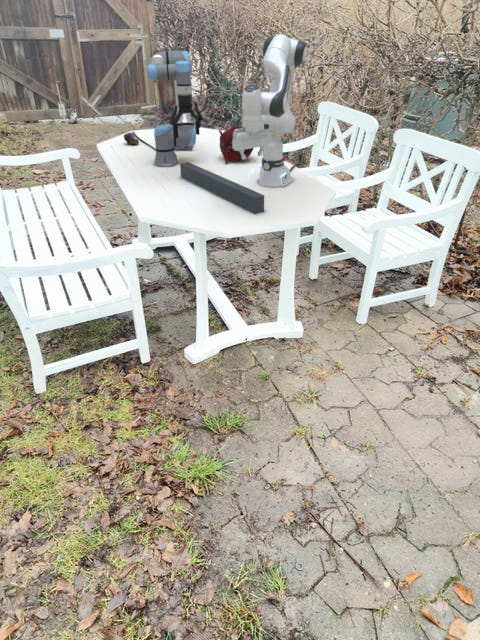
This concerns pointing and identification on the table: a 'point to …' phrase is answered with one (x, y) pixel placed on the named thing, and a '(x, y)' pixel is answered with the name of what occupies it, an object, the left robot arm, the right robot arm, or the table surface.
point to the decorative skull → (227, 148)
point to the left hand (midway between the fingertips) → (187, 136)
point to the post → (223, 187)
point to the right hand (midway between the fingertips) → (251, 157)
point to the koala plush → (183, 148)
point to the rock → (131, 138)
